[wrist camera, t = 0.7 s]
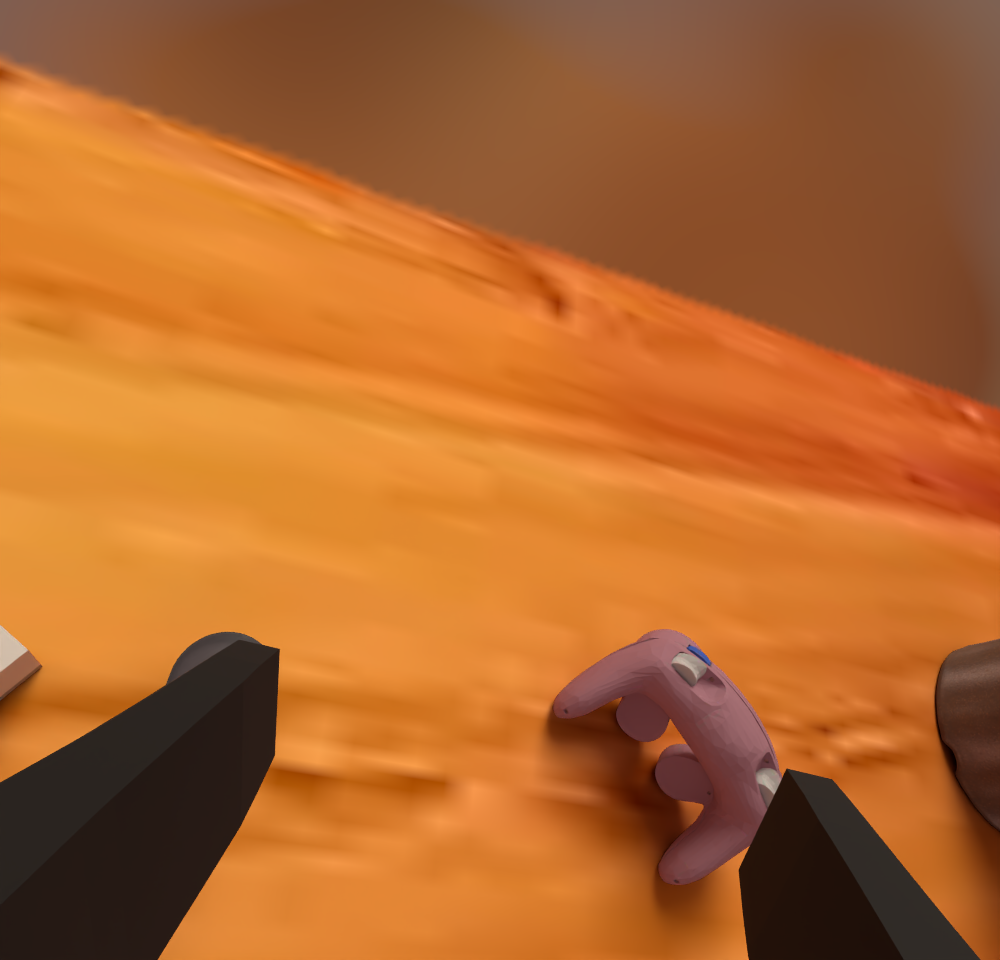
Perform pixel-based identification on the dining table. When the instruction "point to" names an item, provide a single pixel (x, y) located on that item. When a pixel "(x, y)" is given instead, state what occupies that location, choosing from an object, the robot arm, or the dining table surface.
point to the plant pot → (973, 722)
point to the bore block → (14, 663)
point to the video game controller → (688, 742)
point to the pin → (205, 651)
